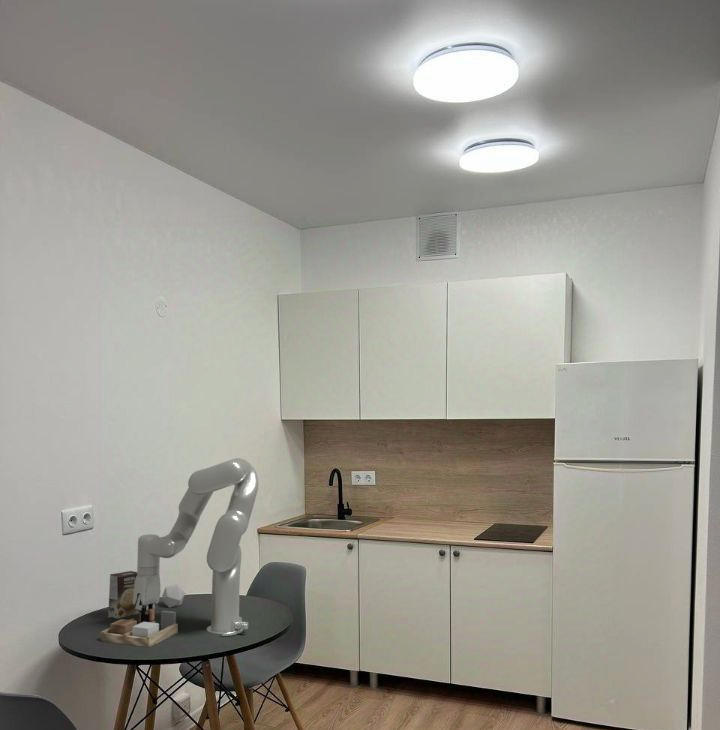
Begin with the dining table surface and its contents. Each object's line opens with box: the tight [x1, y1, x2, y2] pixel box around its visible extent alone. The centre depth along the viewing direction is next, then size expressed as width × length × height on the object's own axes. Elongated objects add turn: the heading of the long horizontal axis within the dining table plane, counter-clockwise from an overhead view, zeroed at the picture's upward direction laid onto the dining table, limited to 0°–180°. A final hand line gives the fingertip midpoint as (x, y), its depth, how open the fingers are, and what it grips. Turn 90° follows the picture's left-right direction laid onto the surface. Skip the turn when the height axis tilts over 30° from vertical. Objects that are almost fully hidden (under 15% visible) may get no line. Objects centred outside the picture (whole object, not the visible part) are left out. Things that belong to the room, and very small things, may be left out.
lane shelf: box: [100, 618, 179, 648], centre depth 236 cm, size 19×23×4 cm
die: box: [160, 583, 186, 609], centre depth 276 cm, size 8×9×10 cm
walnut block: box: [109, 608, 156, 635], centre depth 237 cm, size 6×17×6 cm, turn 161°
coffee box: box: [107, 570, 140, 619], centre depth 260 cm, size 9×6×16 cm
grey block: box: [132, 610, 177, 638], centre depth 234 cm, size 6×17×6 cm, turn 161°
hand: (146, 623), depth 244 cm, fingers closed on walnut block
